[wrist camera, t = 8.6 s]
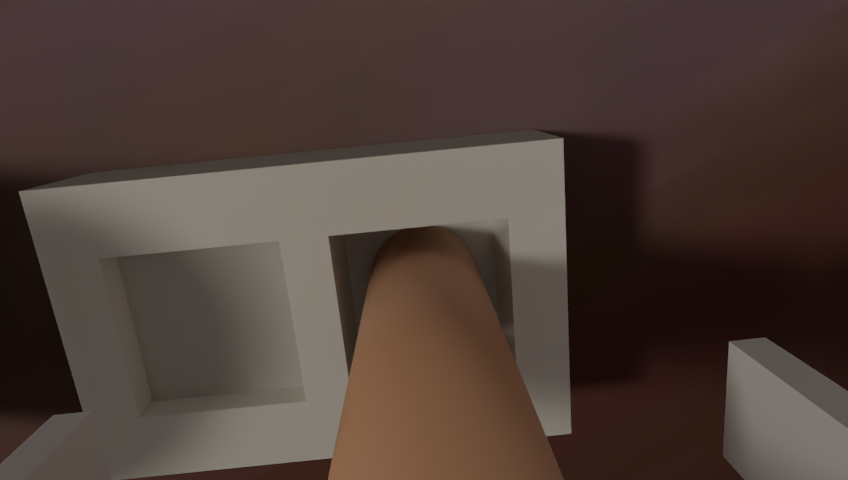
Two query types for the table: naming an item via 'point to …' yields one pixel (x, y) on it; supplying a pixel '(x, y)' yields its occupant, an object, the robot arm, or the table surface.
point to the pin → (435, 375)
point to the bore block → (283, 287)
